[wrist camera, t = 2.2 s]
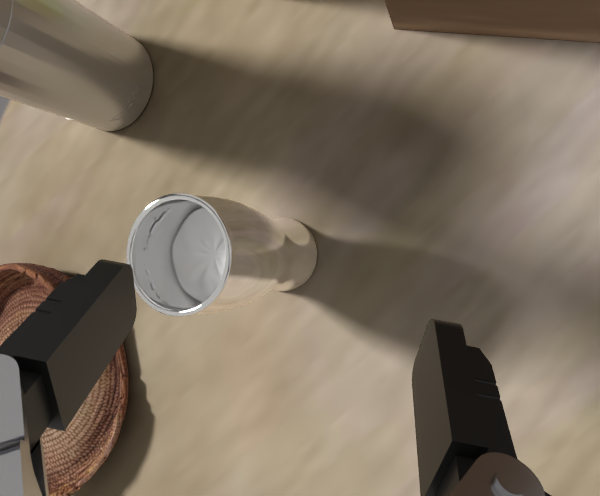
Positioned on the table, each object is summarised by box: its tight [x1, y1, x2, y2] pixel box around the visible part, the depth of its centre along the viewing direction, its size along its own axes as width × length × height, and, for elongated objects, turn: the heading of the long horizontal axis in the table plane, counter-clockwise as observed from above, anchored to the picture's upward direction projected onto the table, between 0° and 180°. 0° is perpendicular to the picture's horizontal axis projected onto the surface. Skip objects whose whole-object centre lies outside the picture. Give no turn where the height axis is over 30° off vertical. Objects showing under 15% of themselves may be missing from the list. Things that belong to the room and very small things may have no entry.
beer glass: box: [127, 193, 317, 316], centre depth 32 cm, size 7×7×15 cm
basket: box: [0, 263, 129, 496], centre depth 45 cm, size 22×20×5 cm
